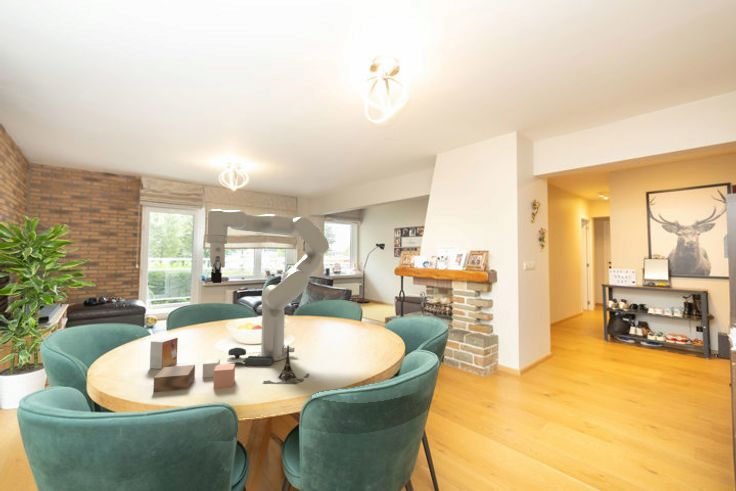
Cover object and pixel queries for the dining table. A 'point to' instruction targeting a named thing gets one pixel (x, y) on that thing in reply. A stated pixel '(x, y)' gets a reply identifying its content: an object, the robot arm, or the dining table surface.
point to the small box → (163, 352)
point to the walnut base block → (174, 378)
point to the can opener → (249, 358)
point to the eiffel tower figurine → (287, 374)
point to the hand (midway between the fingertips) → (216, 281)
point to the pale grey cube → (210, 367)
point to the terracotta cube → (224, 376)
